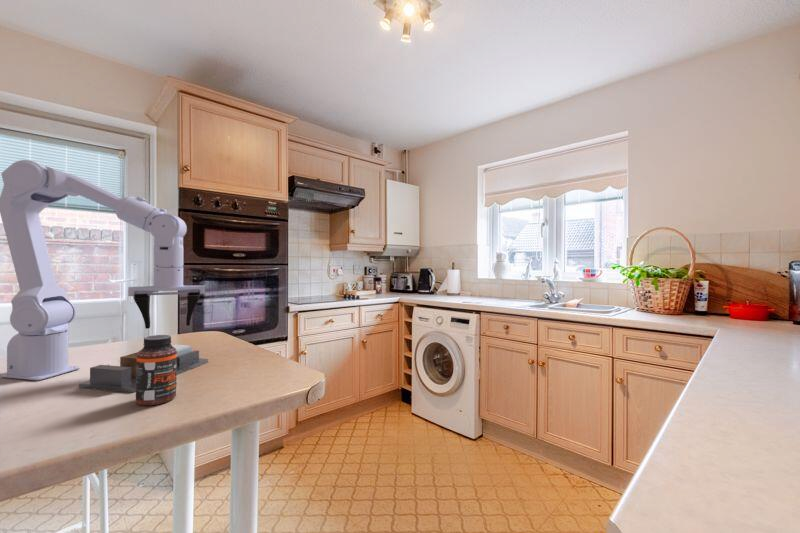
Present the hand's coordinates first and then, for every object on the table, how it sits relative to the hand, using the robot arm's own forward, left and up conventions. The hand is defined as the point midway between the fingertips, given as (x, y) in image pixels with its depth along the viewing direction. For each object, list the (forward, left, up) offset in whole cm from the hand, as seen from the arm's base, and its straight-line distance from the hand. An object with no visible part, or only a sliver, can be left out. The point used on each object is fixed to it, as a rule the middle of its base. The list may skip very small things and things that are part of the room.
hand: (168, 326), depth 80 cm
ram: (0, +2, -8) cm, 9 cm away
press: (0, -4, -10) cm, 10 cm away
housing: (0, -7, -9) cm, 11 cm away
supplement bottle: (+13, -16, -10) cm, 23 cm away
